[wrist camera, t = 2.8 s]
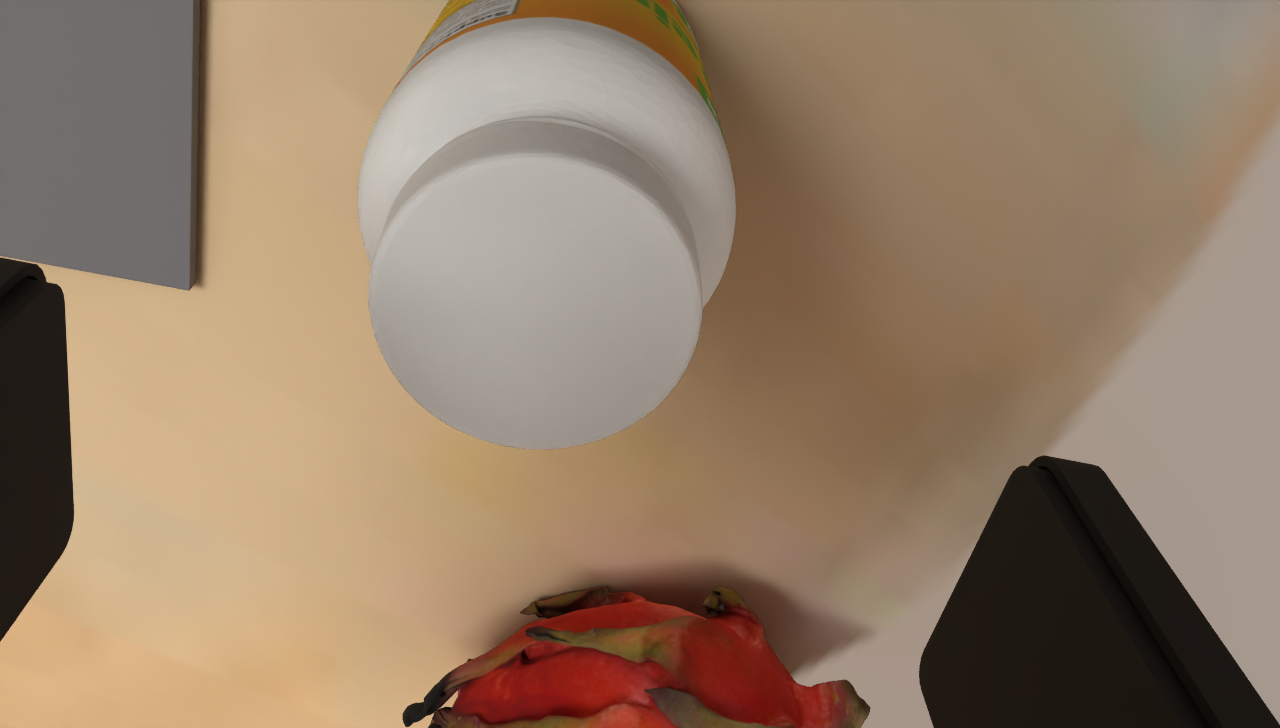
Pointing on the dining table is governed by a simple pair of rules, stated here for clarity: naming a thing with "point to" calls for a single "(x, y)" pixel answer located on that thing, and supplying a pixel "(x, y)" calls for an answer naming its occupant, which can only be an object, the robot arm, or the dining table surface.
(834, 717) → the dragon fruit
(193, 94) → the mat
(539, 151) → the supplement bottle
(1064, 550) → the robot arm
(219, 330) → the dining table surface
